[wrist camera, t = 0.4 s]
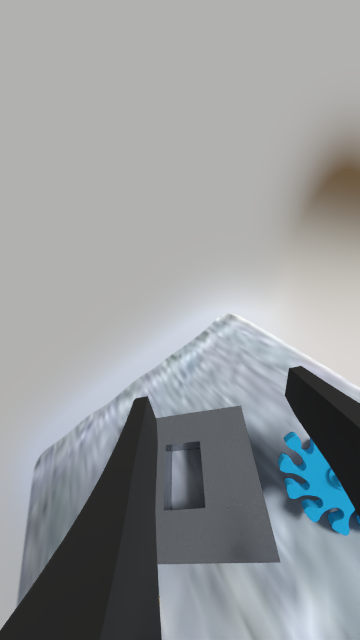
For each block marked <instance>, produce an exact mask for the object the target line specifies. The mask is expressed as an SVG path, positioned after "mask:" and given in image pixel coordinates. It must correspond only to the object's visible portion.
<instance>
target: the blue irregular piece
mask: <svg viewBox="0 0 360 640" xmlns="http://www.w3.org/2000/svg"><path fill="white" fill-rule="evenodd" d="M284 440H285V442H286V444H287V446H288V447H289V448H290V449H292V450H294V451H296V452H297V453H298V454H299V455H300V456H301V457H302V458H303V463H302V464H301V465H295V464H294V463H293V462H292V460H291V459H290V457H289V456H288V455H287V454H284V453H282V454H281V455H280V457H279V460H278V465H279V468H280V470H281V471H283V472H285V473H294V474H297V475H299V476H301V477H303V478H304V479H305V480H306V482H305V483H304V484H300V483H298V482H296V481H295V480H293V479H292V478H286V479H285V486H286V489H287V492H288V495H289V498H291V499H296V498H298V497H300V496H303V495H312V496H317V497H319V499H318V500H316V501H313V500H308V499H306V500H303V501H302V503H301V504H302V506H303V509H304V511H305V513H306V515H307V516H308V517H309V518H310V519H311V520H312V521H313V522H317V521H318V520H319V519H320V517H321V515H322V514H323V513H324V512H325V511H326V510H329V509H332V508H339V510H338V511H336V512H332V513H330V514H329V515H328V520H329V522H330V524H331V526H332V528H333V529H334V530H335V531H337V532H338V533H341V534H343V535H348V534H349V518H350V516H351V514H352V513H353V512H354V511H355V508H354V506H353V505H352V503H351V501H350V499H349V498H348V496H347V494H346V492H345V491H344V489H343V487H342V485H341V484H340V482H339V480H338V478H337V477H336V475H335V473H334V472H333V470H332V469H331V467H330V466H329V464H328V462H327V461H326V460H325V458H324V457H323V455H322V454H321V452H320V451H319V449H318V448H317V446H316V445H315V444H314V442H313V441H312V439H311V438H310V448H309V449H302V448H301V441H300V439H299V437H298V436H297V434H296V433H294V432H290V433H289V434H287V435H286V436H285V437H284ZM357 521H358V523H359V524H360V517H359V516H358V515H357Z"/></svg>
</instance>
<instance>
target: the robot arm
mask: <svg viewBox="0 0 360 640" xmlns="http://www.w3.org/2000/svg"><path fill="white" fill-rule="evenodd" d="M285 397H286V399H287V401H288V402H289V404H290V406H291V408H292V410H293V412H294V414H295V415H296V417H297V419H298V420H299V422H300V423H301V424H302V426H303V427H304V429H305V430H306V432H307V433H308V435H309V436H310V438H311V439H312V441H313V442H314V444H315V445H316V446H317V448H318V449H319V451H320V452H321V454H322V455H323V457H324V458H325V460H326V461H327V462H328V464H329V466H330V467H331V469H332V470H333V472H334V473H335V475H336V477H337V478H338V480H339V482H340V484H341V485H342V487H343V489H344V491H345V492H346V494H347V496H348V498H349V499H350V501H351V503H352V505H353V506H354V508H355V510H356V512H357V514H358V516H359V517H360V403H358V402H357V401H355V400H353V399H352V398H350V397H348V396H347V395H345V394H344V393H342V392H340V391H339V390H337V389H336V388H334V387H333V386H331V385H330V384H328V383H326V382H325V381H323V380H322V379H320V378H319V377H317V376H316V375H314V374H313V373H311V372H310V371H308V370H307V369H305V368H303V367H302V366H299V367H294V368H289V372H288V379H287V385H286V392H285ZM157 454H158V435H157V420H156V418H155V415H154V412H153V410H152V407H151V404H150V401H149V399H148V396H146V397H141V398H136V399H135V400H134V402H133V405H132V408H131V410H130V413H129V416H128V418H127V421H126V423H125V426H124V428H123V430H122V433H121V435H120V437H119V440H118V442H117V444H116V446H115V448H114V451H113V453H112V455H111V457H110V459H109V461H108V463H107V465H106V467H105V469H104V471H103V473H102V475H101V477H100V479H99V480H98V482H97V484H96V486H95V488H94V490H93V491H92V493H91V495H90V497H89V498H88V500H87V502H86V504H85V505H84V507H83V509H82V510H81V512H80V514H79V515H78V517H77V519H76V520H75V522H74V524H73V525H72V527H71V528H70V530H69V532H68V533H67V535H66V536H65V538H64V540H63V541H62V543H61V544H60V546H59V547H58V549H57V550H56V552H55V553H54V555H53V556H52V558H51V559H50V561H49V562H48V564H47V565H46V567H45V568H44V570H43V571H42V573H41V574H40V576H39V577H38V579H37V580H36V581H35V583H34V584H33V586H32V587H31V589H30V590H29V591H28V593H27V594H26V596H25V597H24V598H23V600H22V601H21V603H20V604H19V605H18V607H17V608H16V609H15V611H14V612H13V614H12V615H11V616H10V618H9V619H8V621H7V622H6V623H5V625H4V626H3V627H2V629H1V630H0V640H162V639H161V623H160V607H159V587H158V567H157V543H156V512H155V508H156V477H157Z"/></svg>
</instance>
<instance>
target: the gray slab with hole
mask: <svg viewBox="0 0 360 640" xmlns="http://www.w3.org/2000/svg"><path fill="white" fill-rule="evenodd" d="M156 420H157V435H158V454H157V477H156V508H155V512H156V543H157V564H202V563H267V562H280V559H279V555H278V551H277V547H276V543H275V539H274V535H273V531H272V527H271V523H270V519H269V515H268V511H267V507H266V503H265V499H264V495H263V491H262V488H261V484H260V480H259V476H258V472H257V468H256V464H255V460H254V456H253V452H252V448H251V444H250V440H249V436H248V432H247V428H246V424H245V420H244V416H243V412H242V408H241V406H236V407H229V408H222V409H216V410H209V411H202V412H195V413H189V414H182V415H175V416H169V417H162V418H156ZM196 448H200V449H201V461H202V473H203V485H204V497H205V508H197V509H181V510H171V484H172V451H179V450H187V449H196Z"/></svg>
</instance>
